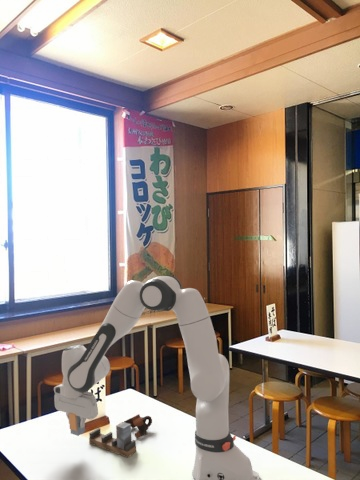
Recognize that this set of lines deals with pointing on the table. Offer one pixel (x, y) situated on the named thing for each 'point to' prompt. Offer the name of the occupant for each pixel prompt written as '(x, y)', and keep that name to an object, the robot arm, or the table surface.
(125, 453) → the rail
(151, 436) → the table surface
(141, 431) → the pottery mug
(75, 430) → the multicoloured piece
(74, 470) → the table surface
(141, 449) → the table surface
